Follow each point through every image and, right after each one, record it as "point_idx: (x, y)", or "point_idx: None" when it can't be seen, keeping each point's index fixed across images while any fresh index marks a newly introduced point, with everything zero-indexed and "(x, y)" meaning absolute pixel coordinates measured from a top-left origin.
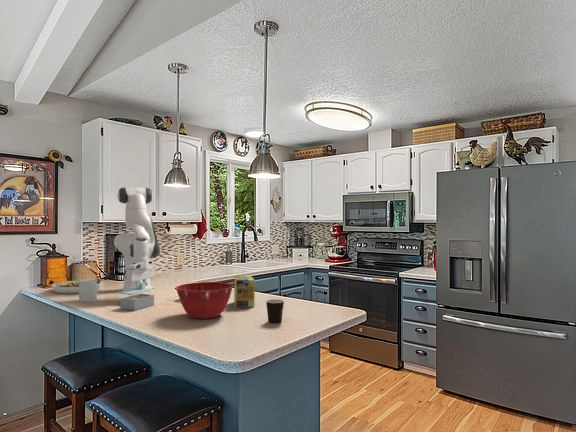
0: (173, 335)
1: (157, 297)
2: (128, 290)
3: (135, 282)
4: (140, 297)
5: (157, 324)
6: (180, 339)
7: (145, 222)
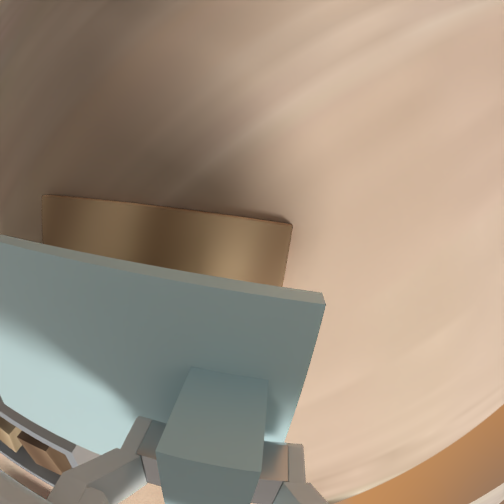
0: None
1: (387, 401)
2: (47, 309)
3: (68, 476)
4: (32, 455)
5: (12, 473)
6: None
7: None
